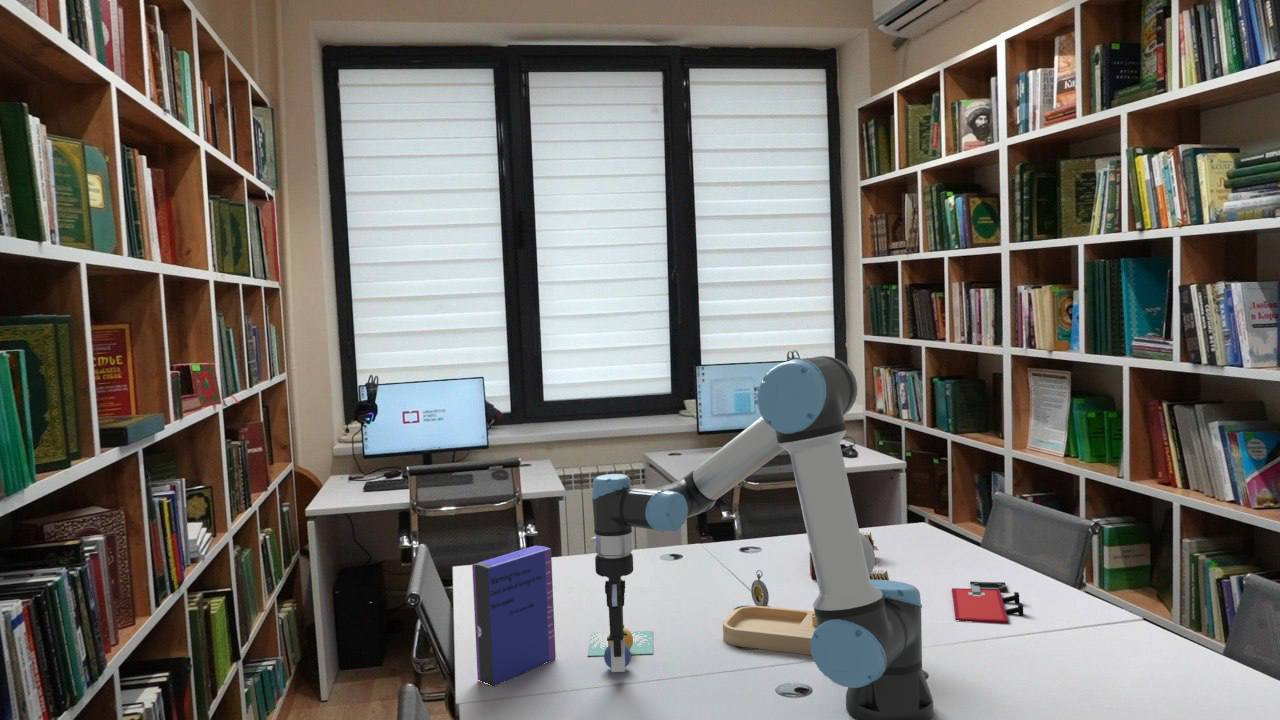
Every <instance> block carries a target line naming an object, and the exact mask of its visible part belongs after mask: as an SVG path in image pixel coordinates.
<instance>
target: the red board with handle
mask: <svg viewBox="0 0 1280 720" xmlns="http://www.w3.org/2000/svg"><path fill="white" fill-rule="evenodd" d="M969 584H970V588H959V587H957V588H955V587H951V594H952V595H951V596H952V602H953V603H952V604H953V612H954V619H955V621H956V620H959V621H958V622H966V621H972V622H971V623H984V624H985V623H986V624H987V623H988V624H1003V625H1004V624H1006V625H1009V617H1008V615H1013V614H1017V613H1018V616H1019V617H1024V605H1023V603H1021V602H1020V594H1019V593H1020V592H1017V591H1014V592H1013V595H1010V596H1006V597H1002V593H1001V591H1005V592H1006V591H1008V587H1007V585H1006V582H1004V581H1003V582H1001V581H1000V582H999V581H998V582H997V581H969ZM1010 602H1014V605H1017V607H1012V608H1007V609H1006V607H1005V604H1006V603H1010Z"/></svg>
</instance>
